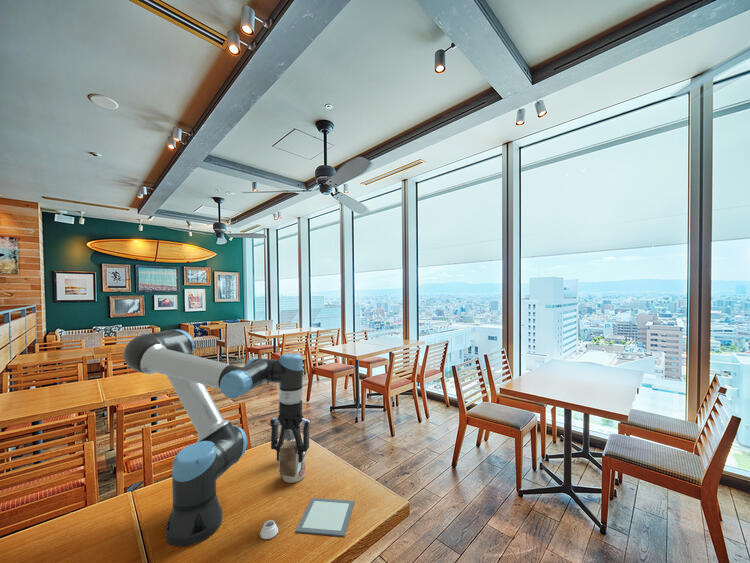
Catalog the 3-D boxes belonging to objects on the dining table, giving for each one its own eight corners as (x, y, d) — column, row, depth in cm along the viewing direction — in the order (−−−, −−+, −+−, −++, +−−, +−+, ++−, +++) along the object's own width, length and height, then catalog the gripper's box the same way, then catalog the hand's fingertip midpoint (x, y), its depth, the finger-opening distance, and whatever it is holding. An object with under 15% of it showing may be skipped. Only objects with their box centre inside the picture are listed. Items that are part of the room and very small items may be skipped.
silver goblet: (276, 461, 134) (276, 425, 134) (285, 451, 141) (285, 417, 142) (294, 462, 132) (294, 426, 133) (302, 452, 140) (301, 418, 140)
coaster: (295, 532, 94) (295, 530, 94) (311, 499, 109) (311, 497, 109) (344, 536, 92) (344, 535, 92) (354, 502, 107) (354, 500, 107)
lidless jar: (260, 529, 96) (259, 542, 91) (260, 519, 96) (259, 531, 91) (278, 525, 97) (277, 538, 92) (278, 516, 97) (277, 527, 92)
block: (279, 475, 104) (279, 447, 104) (285, 466, 109) (286, 440, 109) (294, 476, 103) (294, 448, 103) (299, 468, 108) (300, 441, 108)
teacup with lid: (303, 483, 118) (303, 451, 118) (279, 484, 118) (278, 452, 118) (309, 465, 130) (308, 436, 130) (286, 466, 130) (286, 437, 130)
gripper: (260, 403, 104) (258, 475, 103) (313, 406, 101) (312, 479, 101) (270, 395, 111) (269, 462, 111) (320, 398, 109) (319, 466, 108)
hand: (289, 470), depth 106 cm, fingers closed on block, 5 cm apart
